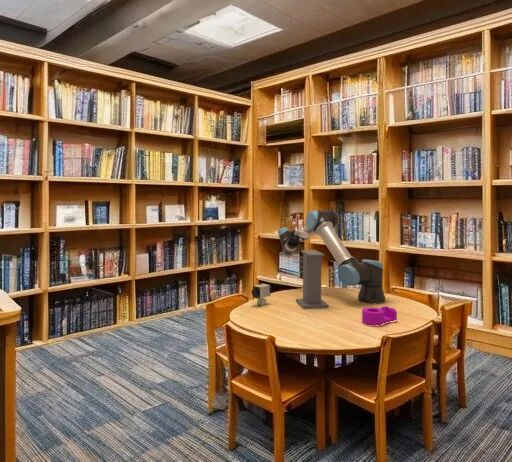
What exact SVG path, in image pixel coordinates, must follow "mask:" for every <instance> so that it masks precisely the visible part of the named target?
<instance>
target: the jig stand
mask: <svg viewBox="0 0 512 462" xmlns="http://www.w3.org/2000/svg"><path fill="white" fill-rule="evenodd" d="M300 253H302V256H303V257H302V298H295V302H296V303H297V305H299V306H300V307H301V309H303V310H307V309H308V310H309V309H313V310H314V309H329V306H330V305H329V304H328V303H327V302H325V300H323V299H322V257H325V254H324V253H323V252H320V251H319V250H316V249H303V250H302V249H301V250H300Z"/></svg>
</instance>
